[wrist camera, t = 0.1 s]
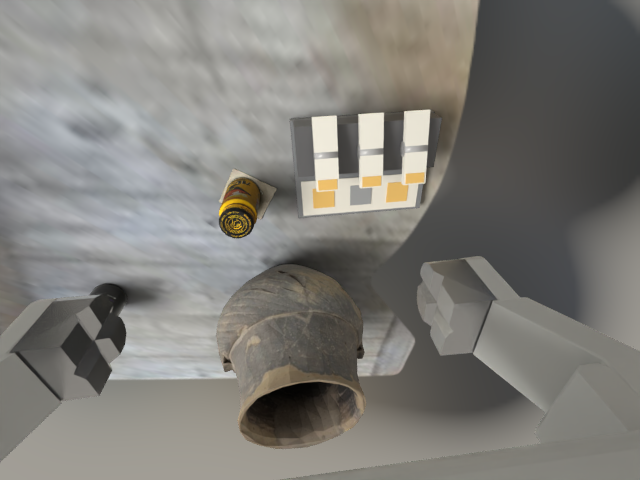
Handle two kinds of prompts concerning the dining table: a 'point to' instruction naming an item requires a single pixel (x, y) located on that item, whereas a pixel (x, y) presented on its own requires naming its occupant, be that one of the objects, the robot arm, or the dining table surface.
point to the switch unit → (356, 169)
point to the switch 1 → (325, 153)
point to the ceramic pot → (293, 357)
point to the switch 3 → (415, 146)
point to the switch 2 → (370, 149)
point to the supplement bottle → (112, 296)
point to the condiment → (243, 204)
